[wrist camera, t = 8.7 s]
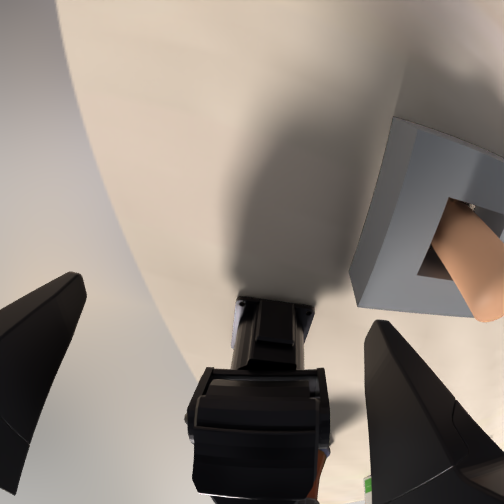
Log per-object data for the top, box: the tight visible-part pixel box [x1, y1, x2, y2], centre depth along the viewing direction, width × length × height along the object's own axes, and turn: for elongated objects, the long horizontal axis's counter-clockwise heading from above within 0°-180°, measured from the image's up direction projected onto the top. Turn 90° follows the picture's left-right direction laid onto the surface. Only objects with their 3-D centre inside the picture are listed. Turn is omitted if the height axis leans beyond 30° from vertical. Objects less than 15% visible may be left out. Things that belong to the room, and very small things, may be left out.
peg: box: [431, 197, 504, 322], centre depth 16 cm, size 4×4×9 cm
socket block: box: [349, 116, 504, 318], centre depth 18 cm, size 12×12×4 cm
